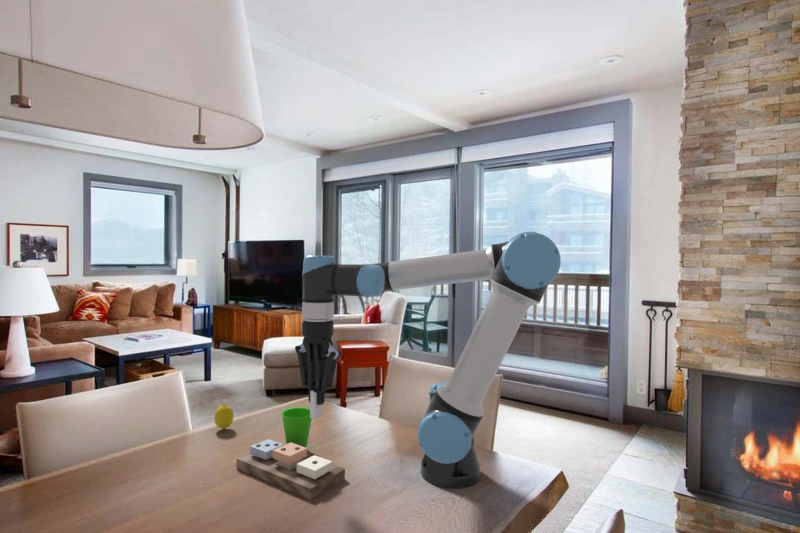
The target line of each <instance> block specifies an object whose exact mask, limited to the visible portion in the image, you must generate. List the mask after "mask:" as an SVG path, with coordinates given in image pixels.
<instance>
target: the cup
mask: <svg viewBox="0 0 800 533" xmlns="http://www.w3.org/2000/svg"><path fill="white" fill-rule="evenodd" d="M280 415H281V417H282V422H283V428H284V429H283V430H284V437H285V445H286V444H288V443H290V442H291V443H294V444H297V445H300V446H303V447H306V448H307V449H308V442H309V441H308V440H309V435H310V431H311V424H312V420H313V419H312V418H310V407H305V406H296V407H295V406H294V407H290V408H286V409H284V410H282V411H281V413H280Z"/></svg>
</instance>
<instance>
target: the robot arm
mask: <svg viewBox="0 0 800 533" xmlns="http://www.w3.org/2000/svg"><path fill="white" fill-rule="evenodd" d="M561 259H562V258H561V254H560V251H559V248H558V246H557V245H556V243H554V241H553V240H552V239H551V238H550V237H548V236H546V235H544V234H543V233H539V232H536V231H525V232H521V233H518V234H516V235H514V236H513V237H511V239H509V240H508V241H505V242H500V243H494V244H490V245H489V246H488V247H487V248H485V249H477V250H471V251H464V252H463V251H462V252H456V253H449V254H441V255H433V256H426V257H417V258H416V257H415V258H409V259H402V260H401V259H400V260H394V261H388V262H387V261H386V262H379V263H370V264H369V263H368V264H355V263H354V264H352V263H351V264H350V263H349V264H348V263H347V264H342V263H336V260H335V257H334V256H333V255H317V254H316V255H306V256H304V258H303V261H302V262H303V264H302V265H303V266H302V273H301V276H302V300H301V301H302V303H301V304H302V306H301V318H302V319H303V320H302V321H301V335H302V337H303V339H302V343H300V344H299V345H296V346H295V347H294V350H295V353H296V355H297V359H298V363H299V364H298V365H299V372H300V378H301V385H302V386H303V387H306V388H307V390H308V403H309V408H310V418H312V420H315V419H318V418H321V417H323V404H325V395H326V394H325V393H326V392H325V391H326V390H329V389H331V388H332V386H333V382H334V377H335V372H336V369H337V368H336V367H337V363H338V359H339V358H340V356H341V350H339V349H338V350H336V348H334V344H333V341H332V337H333V335H334V320H332V319H333V318H334V316H335V315H334V314H335V313H334V310H335V308H334V307H335V296H338V297H339V296H345V297H346V296H347V297H363V298H374V297H380V296H382V294H383V292H390V291H397V290H398V291H399V290H407V289H415V288H423V287H424V288H425V287H434V286H443V285H451V284H460V283H469V282H478V281H479V282H480V281H488V280H489V282H490V284H491V287H492V290H491V292H490V295H489V296H488V299H487V301H486V304H485V305H484V307H483V309H482V311H481V313H480V316H479V318H478V319H477V321H476V324H475V325H474V327H473V330H472V332H471V334H470V336H469V338H468V340H467V342H466V344H465V347H464V349H463V351H462V353H461V355H460V356H459V358H458V360H457V362H456V365H455V367H454V369H453V372H452V373H451V376H450V377H449V379H448V381H447V382H446V381H445V382H435V383H432V384H430V387H429V392H428V395H429V401H428V402H429V403H428V407H427V409H426V410H425V412H424V415H423V417H422V418H421V420H420V422H419V424H418V427H417V428H418V429H417V440H418V444H419V446H420V448H421V450H422V452H423V457H422V459H421V463H420V474H421V476H422V478H423V479H424V480H426V481H427V482H429V483H431V484H433V485H435V486H439V487H442V488H443V487H444V488H451V489H459V488H460V489H462V488H467V487H471V486H473V485H475V484H477V483H478V482H479V480H480V479H481V465H480V462H479V459H478V455H477V451H476V448H475V434H476V431H477V429H478V428H479V425H480V424H481V420H482V419H483V417H484V415H485V410H484V407H483V404H482V403H483V401H484V398H486V395H487V393H488V391H489V388H490V387H491V385H492V383H493V382H494V379H495V377H496V375H497V372H498V371H499V369H500V367H501V364H502V362H503V361H504V359H505V357H506V355H507V353H508V350H509V348H510V347H511V345H512V342H513V341H514V338H515V336H516V334H517V332H518V330H519V329H520V327H521V324H522V322H523V320H524V318H525V316H526V314H527V312H528V310H529V308H530V307H532V306H536V305H538V304H540V303H541V300H542V298H543V297H544V295H545V293H546V290H547V289H548V287H549V284H551V283H552V282H553V281H554V279H555V278H556V277H557V275H558V273H559V272H560V269H561Z"/></svg>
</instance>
